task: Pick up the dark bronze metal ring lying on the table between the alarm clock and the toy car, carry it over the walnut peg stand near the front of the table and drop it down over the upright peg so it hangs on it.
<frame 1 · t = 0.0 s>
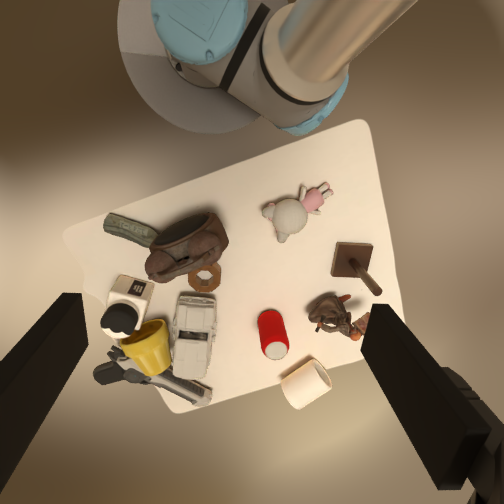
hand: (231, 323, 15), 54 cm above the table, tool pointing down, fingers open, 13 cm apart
toy car: (195, 325, 80), on the table
stone: (138, 220, 68), point 1 cm above the table
alarm clock: (192, 227, 70), on the table
figurine: (332, 302, 80), on the table
peg stand: (350, 259, 76), on the table
flower pot: (159, 367, 76), point 7 cm above the table
mug: (300, 385, 80), point 7 cm above the table
toy: (297, 203, 70), on the table
container: (134, 292, 75), on the table
beverage can: (269, 318, 81), on the table
ring: (205, 272, 74), on the table
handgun: (135, 397, 87), point 1 cm above the table
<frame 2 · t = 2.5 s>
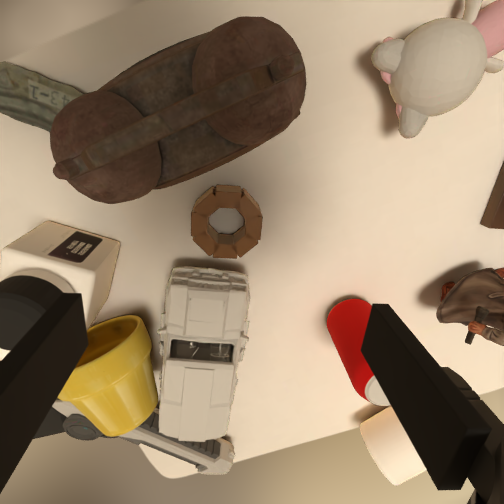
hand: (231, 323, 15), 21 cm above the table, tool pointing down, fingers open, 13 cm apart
toy car: (204, 328, 41), on the table
stone: (73, 83, 29), point 1 cm above the table
alarm clock: (200, 109, 31), on the table
figurine: (470, 284, 41), on the table
flower pot: (132, 414, 37), point 7 cm above the table
mug: (407, 443, 42), point 7 cm above the table
toy: (439, 53, 31), on the table
container: (79, 260, 37), on the table
beverage can: (347, 314, 42), on the table
ring: (226, 217, 35), on the table
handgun: (95, 454, 48), point 1 cm above the table
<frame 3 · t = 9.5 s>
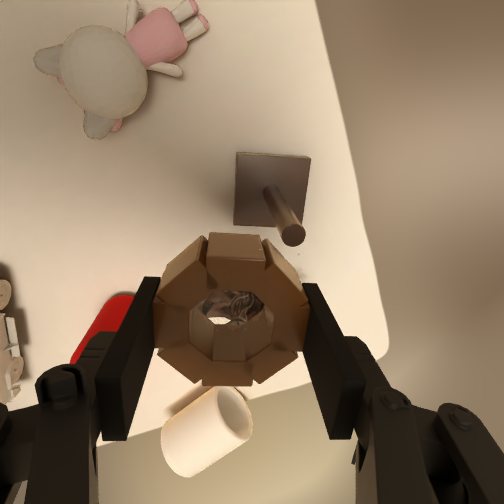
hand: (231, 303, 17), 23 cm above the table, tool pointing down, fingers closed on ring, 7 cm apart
figurine: (245, 280, 43), on the table
peg stand: (269, 190, 38), on the table
mug: (188, 435, 43), point 7 cm above the table
toy: (137, 59, 32), on the table
beverage can: (129, 310, 43), on the table
ring: (230, 294, 18), point 22 cm above the table, touching gripper
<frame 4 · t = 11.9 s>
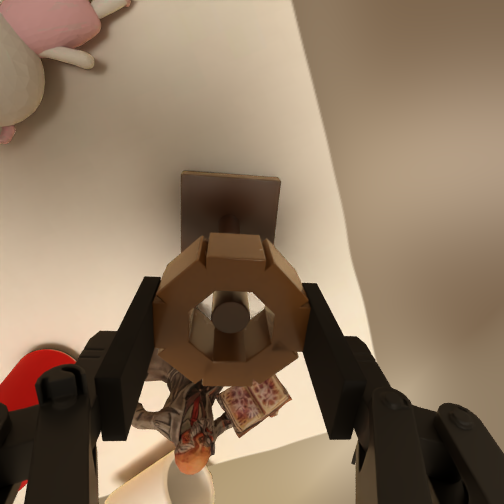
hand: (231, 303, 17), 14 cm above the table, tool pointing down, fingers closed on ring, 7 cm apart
figurine: (202, 329, 34), on the table
peg stand: (228, 219, 29), on the table
toy: (37, 43, 23), on the table
beverage can: (56, 365, 34), on the table
ring: (230, 294, 18), point 13 cm above the table, touching gripper
when the fingers open (8 cm above the table, at t = 13.9 s): ring drops 5 cm, resting on peg stand.
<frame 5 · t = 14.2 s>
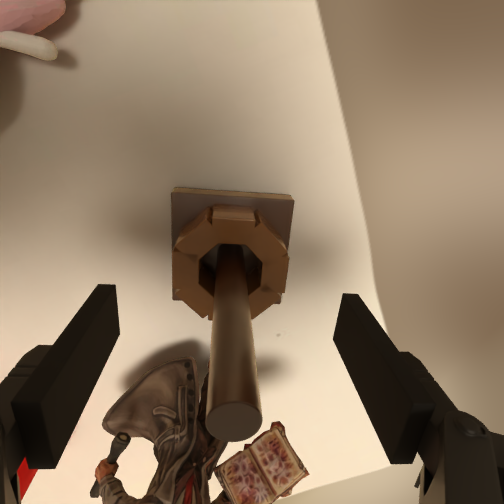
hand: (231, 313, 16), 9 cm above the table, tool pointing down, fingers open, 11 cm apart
figurine: (199, 370, 29), on the table
peg stand: (230, 244, 24), on the table
beverage can: (28, 411, 29), on the table
ring: (230, 253, 23), point 1 cm above the table, touching peg stand
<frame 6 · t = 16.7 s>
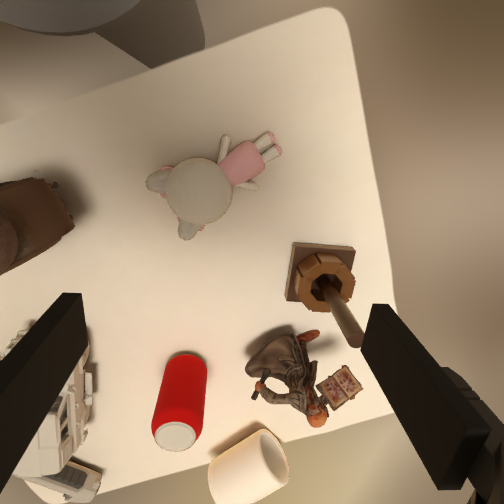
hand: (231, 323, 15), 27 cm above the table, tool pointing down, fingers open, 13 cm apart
toy car: (63, 376, 48), on the table
alarm clock: (31, 210, 39), on the table
figurine: (289, 342, 49), on the table
peg stand: (317, 271, 45), on the table
mug: (235, 478, 49), point 7 cm above the table
toy: (219, 171, 39), on the table
beverage can: (187, 365, 49), on the table
ring: (320, 277, 43), point 1 cm above the table, touching peg stand
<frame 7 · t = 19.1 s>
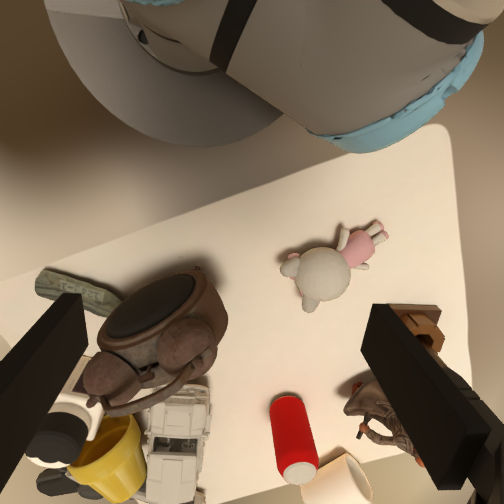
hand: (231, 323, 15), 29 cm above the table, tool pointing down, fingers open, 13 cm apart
toy car: (180, 415, 56), on the table
stone: (89, 279, 44), point 1 cm above the table
alarm clock: (173, 287, 46), on the table
figurine: (375, 382, 57), on the table
peg stand: (404, 326, 52), on the table
flower pot: (129, 483, 52), point 7 cm above the table
mug: (330, 499, 57), point 7 cm above the table
toy: (331, 251, 46), on the table
container: (90, 375, 52), on the table
beverage can: (285, 403, 57), on the table
ring: (409, 332, 51), point 1 cm above the table, touching peg stand
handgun: (99, 503, 63), point 1 cm above the table
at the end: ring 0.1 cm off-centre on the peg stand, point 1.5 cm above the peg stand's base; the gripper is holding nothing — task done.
